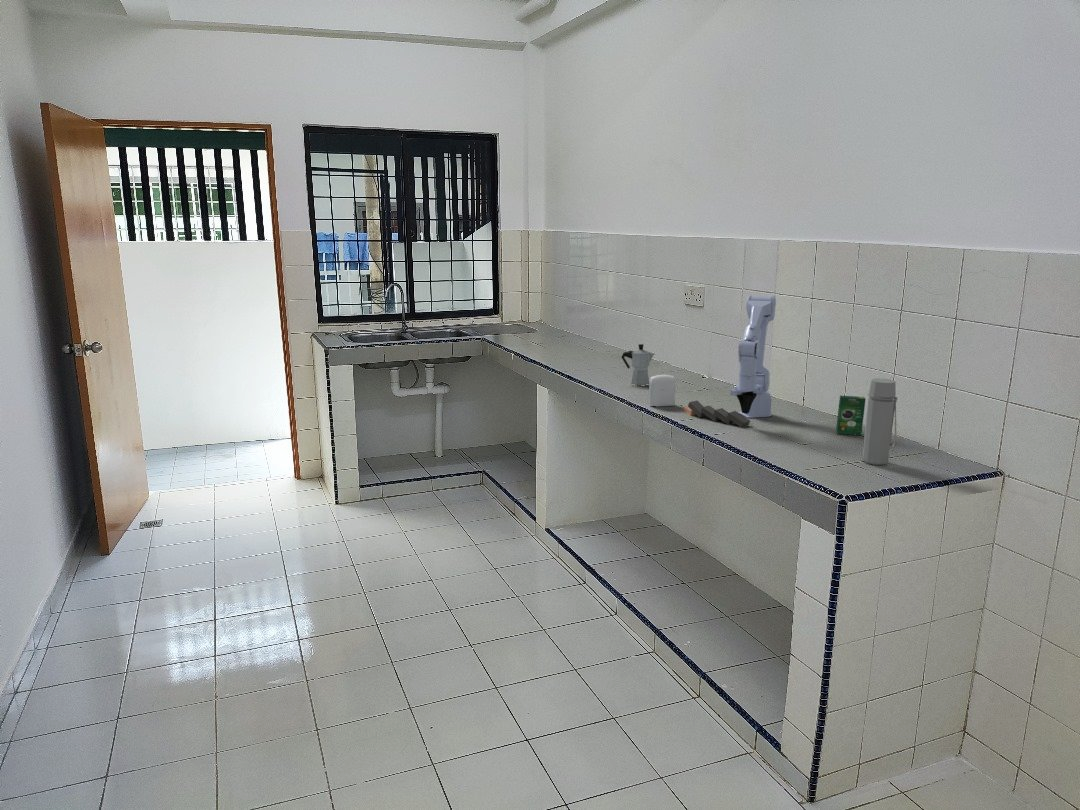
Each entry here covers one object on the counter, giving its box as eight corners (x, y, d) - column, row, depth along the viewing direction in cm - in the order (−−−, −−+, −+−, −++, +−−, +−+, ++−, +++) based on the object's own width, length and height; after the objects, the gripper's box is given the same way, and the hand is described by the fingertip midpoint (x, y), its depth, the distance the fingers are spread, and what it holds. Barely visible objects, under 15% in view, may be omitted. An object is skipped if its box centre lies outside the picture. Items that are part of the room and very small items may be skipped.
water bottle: (868, 466, 226) (876, 383, 220) (857, 458, 234) (864, 378, 228) (899, 466, 226) (908, 383, 220) (887, 458, 234) (895, 377, 228)
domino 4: (750, 420, 271) (735, 410, 276) (743, 422, 269) (728, 412, 273) (748, 425, 272) (733, 415, 277) (741, 427, 270) (726, 417, 274)
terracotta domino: (700, 410, 287) (693, 406, 294) (690, 411, 287) (684, 407, 293) (700, 416, 288) (693, 411, 294) (690, 416, 287) (683, 412, 294)
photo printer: (650, 407, 300) (651, 376, 297) (647, 404, 304) (648, 374, 301) (676, 406, 301) (677, 375, 298) (673, 404, 305) (674, 373, 302)
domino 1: (709, 411, 284) (697, 400, 289) (701, 413, 282) (689, 402, 286) (707, 415, 286) (695, 404, 290) (699, 417, 283) (687, 406, 288)
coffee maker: (654, 382, 346) (655, 342, 342) (655, 386, 337) (656, 345, 333) (620, 382, 347) (621, 342, 343) (620, 386, 339) (621, 345, 335)
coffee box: (861, 433, 261) (864, 395, 258) (862, 435, 258) (865, 397, 255) (835, 432, 262) (838, 394, 259) (837, 434, 260) (840, 396, 257)
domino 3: (736, 417, 276) (721, 408, 280) (729, 419, 273) (715, 409, 277) (734, 422, 277) (720, 412, 281) (728, 424, 274) (713, 414, 278)
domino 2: (723, 415, 280) (709, 405, 284) (716, 416, 277) (702, 407, 282) (721, 419, 281) (707, 410, 285) (714, 421, 278) (700, 411, 283)
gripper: (751, 370, 274) (749, 407, 277) (724, 375, 266) (722, 413, 269) (768, 373, 268) (765, 411, 272) (740, 379, 260) (738, 417, 263)
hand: (745, 413), depth 270 cm, fingers closed
